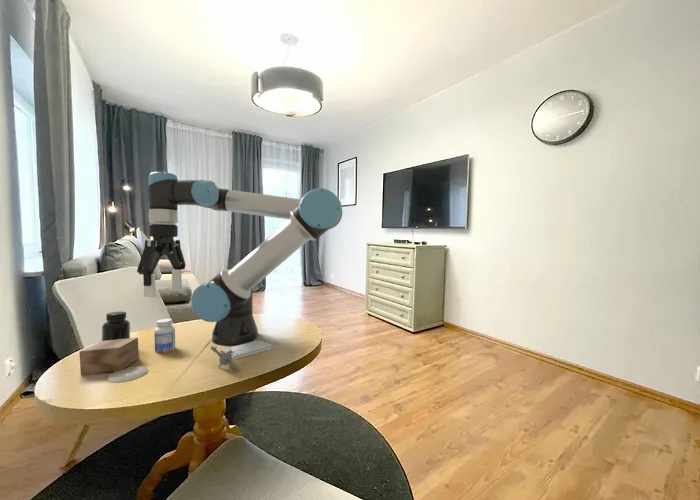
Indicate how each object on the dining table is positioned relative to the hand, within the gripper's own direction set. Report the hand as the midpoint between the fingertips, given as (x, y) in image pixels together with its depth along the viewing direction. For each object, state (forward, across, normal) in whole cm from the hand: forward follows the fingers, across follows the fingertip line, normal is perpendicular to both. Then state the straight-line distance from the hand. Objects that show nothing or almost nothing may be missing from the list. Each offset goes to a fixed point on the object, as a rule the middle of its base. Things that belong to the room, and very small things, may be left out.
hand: (164, 292), depth 91 cm
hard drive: (+19, -1, +25) cm, 32 cm away
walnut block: (+18, +12, -7) cm, 23 cm away
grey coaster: (+18, +17, +1) cm, 25 cm away
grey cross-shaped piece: (+19, +12, +23) cm, 32 cm away
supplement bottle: (+18, 0, -15) cm, 24 cm away
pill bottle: (+18, 0, 0) cm, 19 cm away
